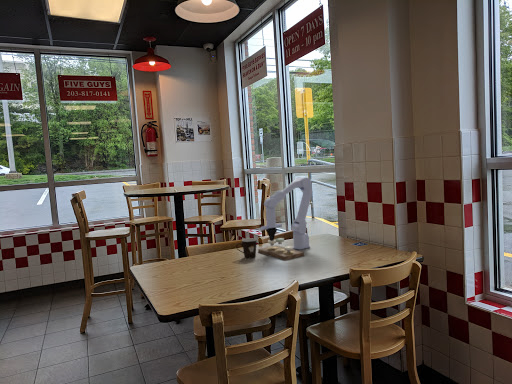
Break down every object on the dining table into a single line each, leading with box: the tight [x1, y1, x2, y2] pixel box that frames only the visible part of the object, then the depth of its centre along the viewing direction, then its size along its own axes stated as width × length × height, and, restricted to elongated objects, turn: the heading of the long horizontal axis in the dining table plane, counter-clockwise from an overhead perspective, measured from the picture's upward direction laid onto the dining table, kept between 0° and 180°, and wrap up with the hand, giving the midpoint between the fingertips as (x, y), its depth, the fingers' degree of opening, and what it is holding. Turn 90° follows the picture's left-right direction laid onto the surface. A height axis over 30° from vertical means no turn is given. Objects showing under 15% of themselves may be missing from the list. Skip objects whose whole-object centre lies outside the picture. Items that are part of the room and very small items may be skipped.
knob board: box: [257, 245, 305, 261], centre depth 224 cm, size 14×26×2 cm, turn 34°
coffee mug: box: [235, 237, 258, 259], centre depth 220 cm, size 12×9×10 cm
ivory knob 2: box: [283, 245, 294, 253], centre depth 217 cm, size 5×5×3 cm
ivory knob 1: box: [267, 239, 277, 247], centre depth 230 cm, size 5×5×3 cm
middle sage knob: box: [275, 237, 285, 245], centre depth 224 cm, size 5×5×3 cm
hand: (271, 240), depth 230 cm, fingers closed, pressing on ivory knob 1
